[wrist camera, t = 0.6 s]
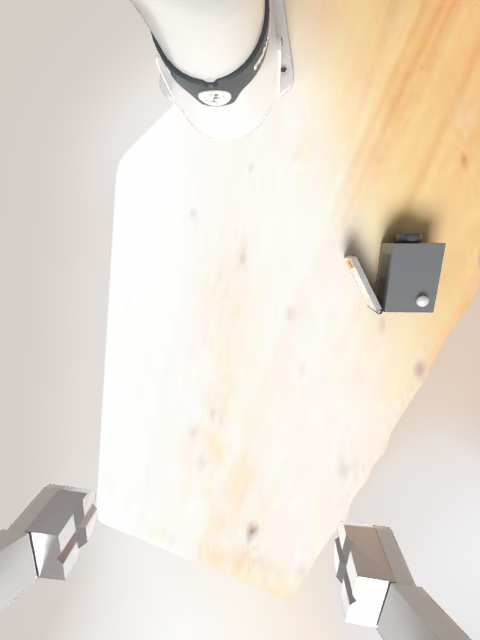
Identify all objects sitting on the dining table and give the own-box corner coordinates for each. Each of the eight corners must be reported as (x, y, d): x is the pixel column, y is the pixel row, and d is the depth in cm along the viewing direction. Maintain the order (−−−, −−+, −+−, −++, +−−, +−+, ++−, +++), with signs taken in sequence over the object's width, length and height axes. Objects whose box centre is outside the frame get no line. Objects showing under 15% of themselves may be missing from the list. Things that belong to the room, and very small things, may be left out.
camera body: (382, 232, 45) (396, 232, 40) (429, 231, 45) (450, 231, 40) (373, 304, 49) (385, 312, 44) (417, 305, 48) (435, 313, 43)
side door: (342, 258, 47) (349, 260, 43) (348, 254, 47) (356, 256, 43) (367, 309, 49) (376, 315, 45) (373, 305, 49) (383, 312, 45)
